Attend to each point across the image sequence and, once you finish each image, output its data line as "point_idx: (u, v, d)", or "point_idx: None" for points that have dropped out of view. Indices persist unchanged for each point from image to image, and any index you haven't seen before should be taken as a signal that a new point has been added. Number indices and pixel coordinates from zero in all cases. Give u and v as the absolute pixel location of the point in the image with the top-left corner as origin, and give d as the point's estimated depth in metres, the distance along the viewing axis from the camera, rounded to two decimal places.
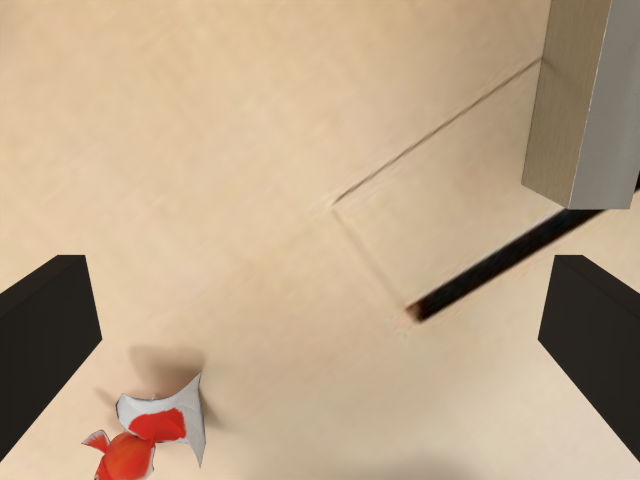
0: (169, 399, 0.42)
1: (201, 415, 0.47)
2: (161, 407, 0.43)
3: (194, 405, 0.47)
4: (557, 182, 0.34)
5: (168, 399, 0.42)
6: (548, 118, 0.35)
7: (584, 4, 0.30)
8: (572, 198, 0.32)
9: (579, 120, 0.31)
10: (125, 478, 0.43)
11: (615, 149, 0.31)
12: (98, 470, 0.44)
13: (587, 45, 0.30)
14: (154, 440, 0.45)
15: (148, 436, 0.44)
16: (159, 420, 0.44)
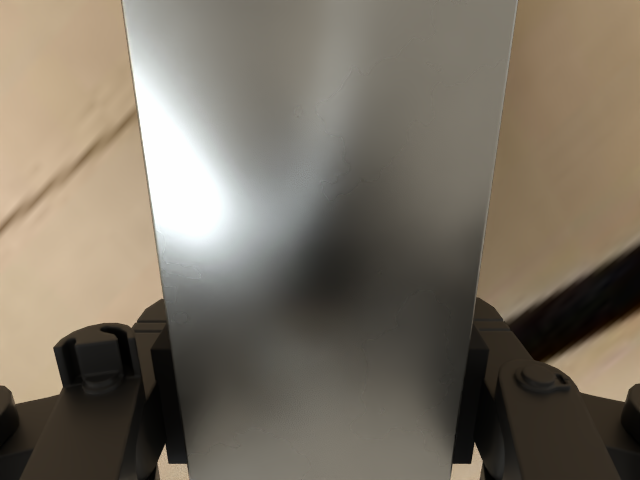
0: None
1: None
2: None
3: None
4: None
5: None
6: None
7: None
8: None
9: None
10: None
11: (331, 406, 0.07)
12: None
13: None
14: None
15: None
16: None
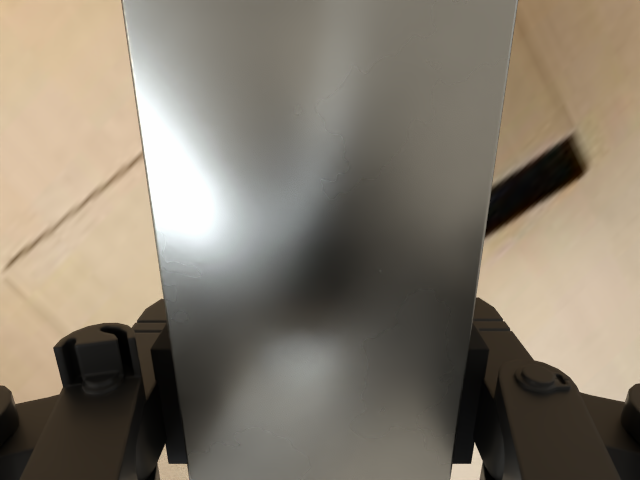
0: None
1: None
2: None
3: None
4: None
5: None
6: None
7: None
8: None
9: None
10: None
11: (331, 405, 0.07)
12: None
13: None
14: None
15: None
16: None
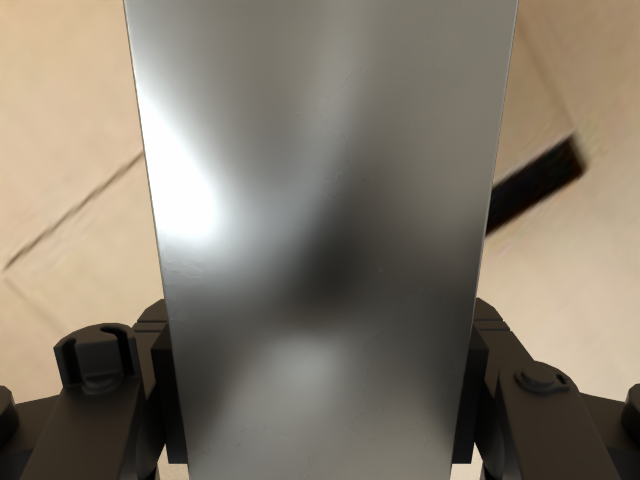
0: None
1: None
2: None
3: None
4: None
5: None
6: None
7: None
8: None
9: None
10: None
11: (331, 404, 0.07)
12: None
13: None
14: None
15: None
16: None
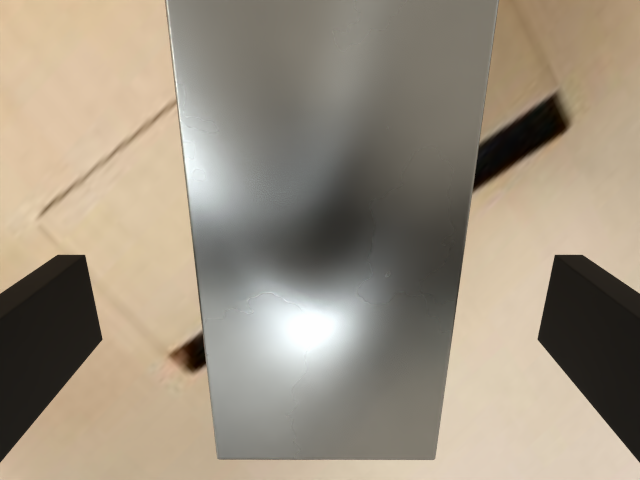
0: None
1: None
2: None
3: None
4: None
5: None
6: None
7: None
8: (220, 430, 0.09)
9: None
10: None
11: (339, 269, 0.07)
12: None
13: None
14: None
15: None
16: None
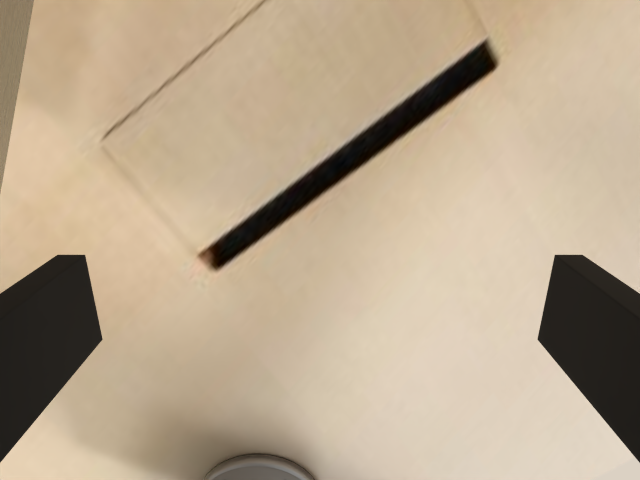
0: None
1: None
2: None
3: None
4: None
5: None
6: None
7: None
8: None
9: None
10: None
11: None
12: None
13: None
14: None
15: None
16: None
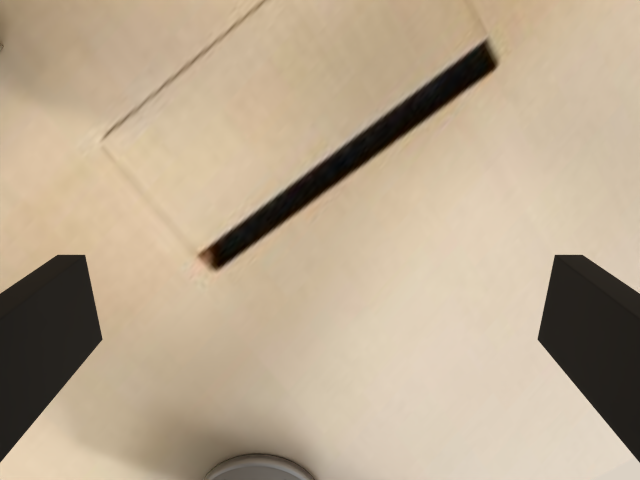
0: None
1: None
2: None
3: None
4: None
5: None
6: None
7: None
8: None
9: None
10: None
11: None
12: None
13: None
14: None
15: None
16: None
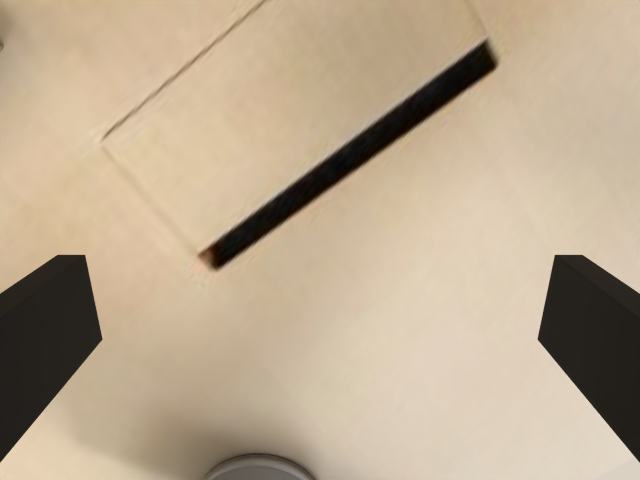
0: None
1: None
2: None
3: None
4: None
5: None
6: None
7: None
8: None
9: None
10: None
11: None
12: None
13: None
14: None
15: None
16: None
